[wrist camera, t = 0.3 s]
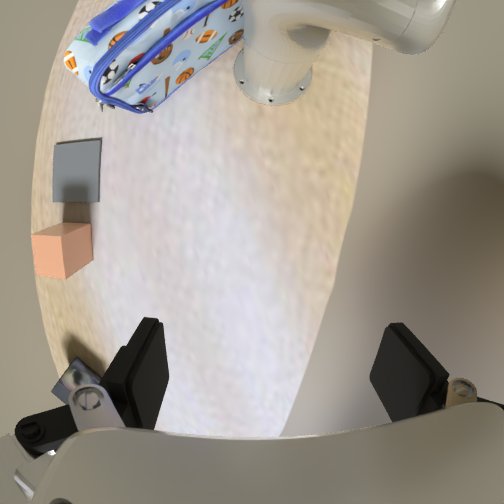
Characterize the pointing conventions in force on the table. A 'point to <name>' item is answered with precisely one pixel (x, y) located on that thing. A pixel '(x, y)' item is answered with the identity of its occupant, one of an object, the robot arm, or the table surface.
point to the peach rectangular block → (62, 249)
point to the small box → (74, 379)
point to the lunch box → (151, 48)
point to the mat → (77, 171)
